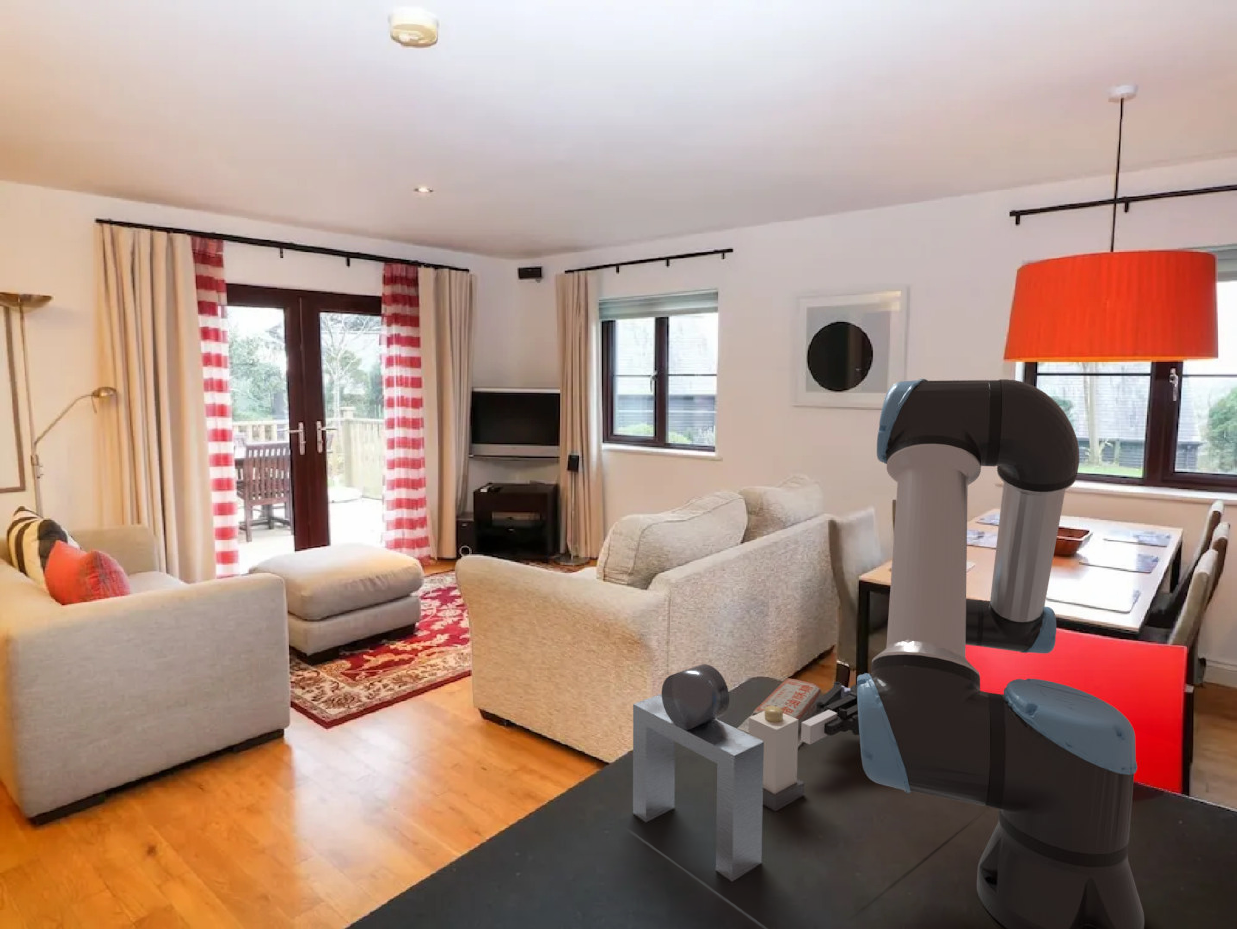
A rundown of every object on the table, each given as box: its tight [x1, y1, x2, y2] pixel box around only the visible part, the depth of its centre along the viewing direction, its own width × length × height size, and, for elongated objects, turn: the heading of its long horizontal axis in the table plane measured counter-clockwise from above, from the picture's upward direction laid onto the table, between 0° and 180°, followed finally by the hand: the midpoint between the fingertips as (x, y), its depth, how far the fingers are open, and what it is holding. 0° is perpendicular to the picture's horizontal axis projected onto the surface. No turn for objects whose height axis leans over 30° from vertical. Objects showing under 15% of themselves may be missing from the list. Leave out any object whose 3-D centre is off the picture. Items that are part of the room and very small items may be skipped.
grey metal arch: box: [632, 663, 764, 882], centre depth 89 cm, size 17×5×21 cm, turn 39°
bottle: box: [748, 706, 805, 812], centre depth 99 cm, size 6×6×12 cm
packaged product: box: [736, 678, 822, 748], centre depth 121 cm, size 18×5×10 cm
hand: (805, 733), depth 103 cm, fingers closed
